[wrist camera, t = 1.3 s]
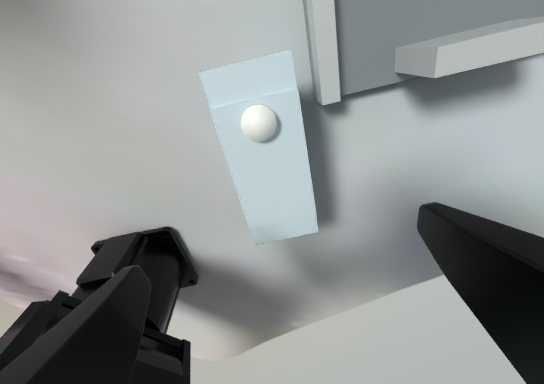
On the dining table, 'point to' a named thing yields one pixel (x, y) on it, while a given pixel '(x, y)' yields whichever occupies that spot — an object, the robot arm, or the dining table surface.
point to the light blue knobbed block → (264, 143)
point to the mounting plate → (413, 39)
